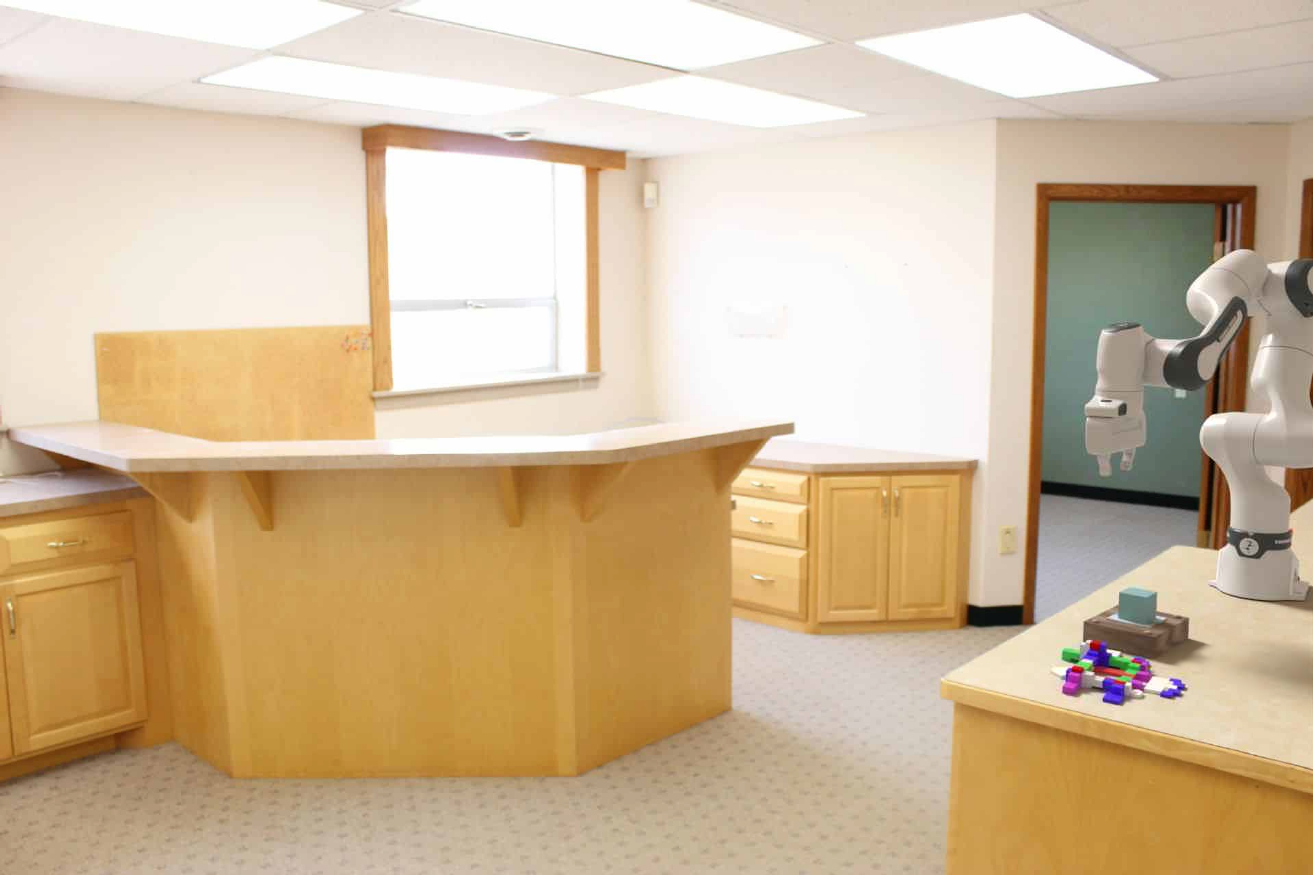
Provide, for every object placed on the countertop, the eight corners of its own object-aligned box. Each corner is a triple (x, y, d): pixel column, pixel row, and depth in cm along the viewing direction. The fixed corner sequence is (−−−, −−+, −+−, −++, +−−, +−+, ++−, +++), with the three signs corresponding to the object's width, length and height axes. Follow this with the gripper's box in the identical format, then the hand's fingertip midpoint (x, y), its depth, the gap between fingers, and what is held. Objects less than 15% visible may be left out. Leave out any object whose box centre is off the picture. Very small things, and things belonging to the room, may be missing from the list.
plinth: (1119, 623, 208) (1120, 602, 208) (1188, 637, 199) (1189, 615, 198) (1082, 642, 197) (1083, 619, 197) (1153, 658, 188) (1154, 635, 187)
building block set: (1167, 718, 163) (1168, 690, 163) (1033, 690, 175) (1034, 664, 175) (1197, 671, 183) (1198, 646, 182) (1074, 649, 195) (1075, 626, 195)
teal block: (1129, 612, 201) (1130, 587, 200) (1156, 617, 197) (1157, 592, 197) (1118, 618, 198) (1119, 592, 197) (1145, 623, 194) (1146, 597, 193)
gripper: (1125, 399, 219) (1122, 465, 221) (1080, 407, 205) (1077, 477, 207) (1156, 401, 215) (1152, 468, 216) (1112, 409, 201) (1109, 480, 203)
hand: (1115, 472), depth 212 cm, fingers open, 8 cm apart
